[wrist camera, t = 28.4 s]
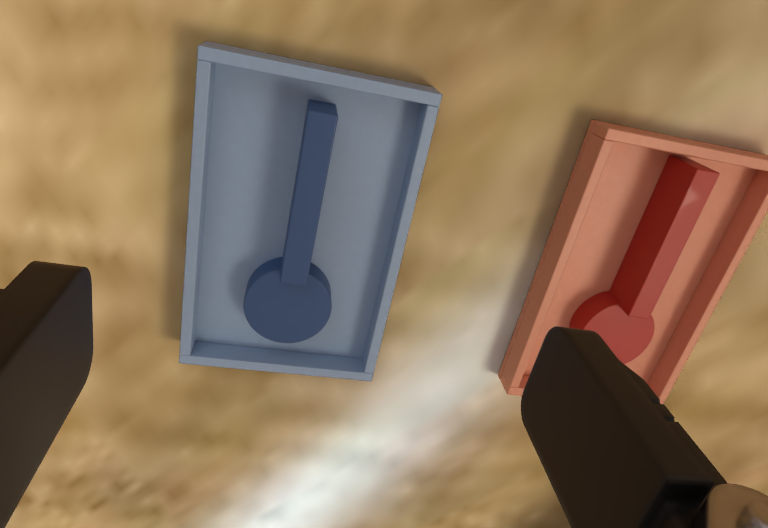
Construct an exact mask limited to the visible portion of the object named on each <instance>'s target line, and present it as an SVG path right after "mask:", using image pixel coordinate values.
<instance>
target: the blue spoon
mask: <svg viewBox="0 0 768 528" xmlns="http://www.w3.org/2000/svg"><path fill="white" fill-rule="evenodd" d="M337 121H338V113H337V108H336V105H335V104H331V103H326V102H321V101H316V100H311V99H309V100H308V104H307V110H306V116H305V122H304V128H303V135H302V141H301V147H300V153H299V159H298V165H297V171H296V177H295V184H294V190H293V196H292V202H291V208H290V214H289V220H288V226H287V232H286V239H285V245H284V251H283V257H278V258H275V259H272V260H269V261H267V262H265V263H263V264H262V265H261V266H259V267H258V268H257V269H256V270H255V271H254V272H253V274H252V275H251V277H250V278H249V281H248V283H247V288H246V292H245V297H244V303H243V308H244V313H245V317H246V319H247V321H248V323H249V324H250V326H251V327H252V328H253V329H254V330H255V331H256V332H257V333H258V334H260V335H261V336H263V337H264V338H266V339H269V340H271V341H275V342H279V343H297V342H301V341H304V340H307V339H309V338H311V337H313V336H315V335H316V334H317V333H319V332H320V331H321V330H322V329H323V327H324V326H325V325H326V323H327V322H328V320H329V318H330V314H331V309H332V301H331V288H330V284H329V281H328V279H327V277H326V276H325V274H324V273H323V272H322V271H321V269H320V268H318V267H317V266H316V265H314V264H313V263H311V259H312V254H313V249H314V243H315V238H316V233H317V227H318V222H319V217H320V211H321V206H322V201H323V196H324V190H325V185H326V180H327V174H328V169H329V164H330V158H331V153H332V148H333V143H334V137H335V132H336V127H337Z"/></svg>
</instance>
